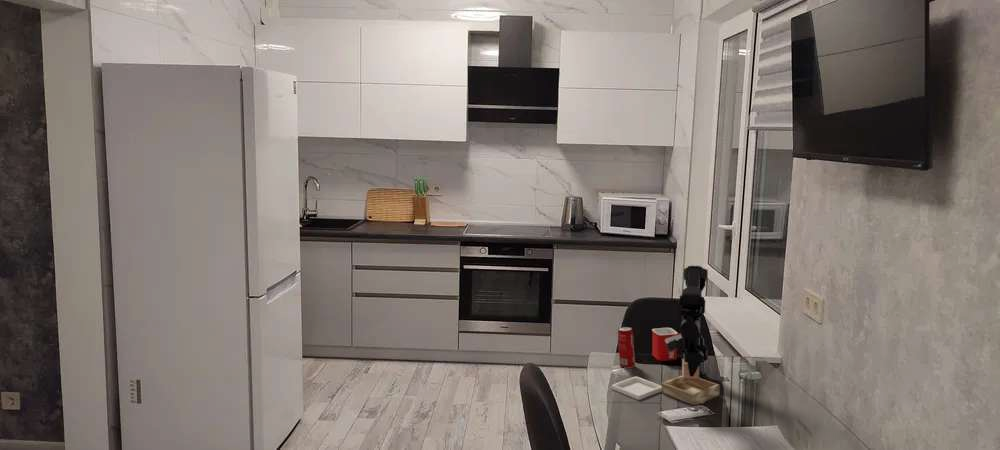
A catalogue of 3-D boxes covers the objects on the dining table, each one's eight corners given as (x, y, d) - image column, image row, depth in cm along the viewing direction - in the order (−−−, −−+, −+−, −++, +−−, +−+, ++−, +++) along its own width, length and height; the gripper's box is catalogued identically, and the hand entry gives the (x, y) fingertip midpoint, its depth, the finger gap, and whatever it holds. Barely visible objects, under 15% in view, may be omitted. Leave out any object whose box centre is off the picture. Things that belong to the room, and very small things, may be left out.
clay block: (682, 372, 236) (682, 358, 236) (697, 372, 236) (697, 359, 235) (683, 378, 232) (683, 364, 231) (699, 378, 231) (699, 364, 230)
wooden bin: (686, 384, 244) (686, 373, 243) (719, 396, 233) (719, 384, 233) (661, 394, 236) (661, 383, 235) (693, 406, 225) (694, 395, 225)
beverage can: (634, 369, 260) (635, 331, 257) (617, 368, 261) (617, 330, 259) (635, 363, 265) (635, 326, 263) (618, 363, 267) (618, 325, 264)
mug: (658, 361, 267) (658, 335, 265) (650, 354, 275) (650, 329, 273) (687, 359, 269) (688, 332, 267) (678, 352, 277) (679, 326, 275)
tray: (635, 381, 248) (635, 376, 248) (663, 391, 238) (663, 386, 238) (611, 390, 241) (611, 385, 240) (638, 401, 231) (638, 396, 230)
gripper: (664, 320, 241) (663, 362, 244) (669, 337, 223) (668, 383, 226) (696, 320, 240) (696, 363, 242) (704, 338, 221) (703, 384, 224)
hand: (690, 373), depth 233 cm, fingers closed on clay block, 5 cm apart
